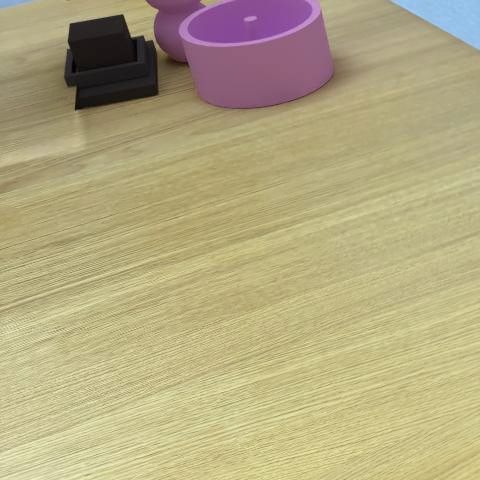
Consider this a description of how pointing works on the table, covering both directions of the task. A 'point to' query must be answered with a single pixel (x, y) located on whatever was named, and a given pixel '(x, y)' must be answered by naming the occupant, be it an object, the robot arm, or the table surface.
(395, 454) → the table surface
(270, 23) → the container set
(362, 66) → the table surface
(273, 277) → the table surface
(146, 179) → the table surface
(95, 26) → the black rectangular block
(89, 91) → the base pad
